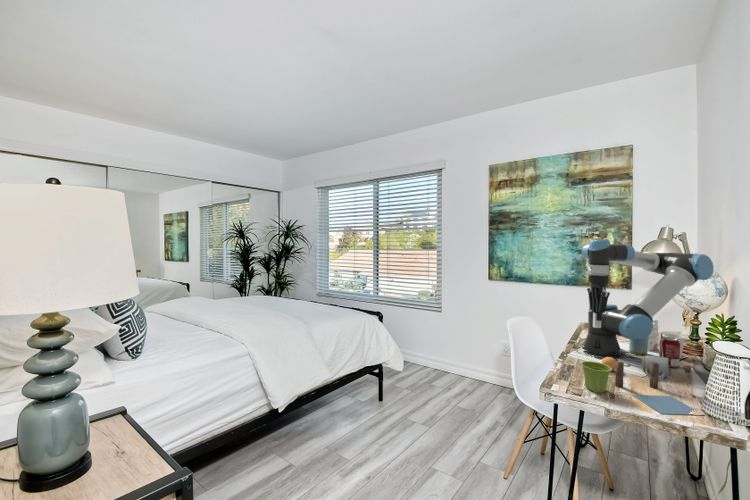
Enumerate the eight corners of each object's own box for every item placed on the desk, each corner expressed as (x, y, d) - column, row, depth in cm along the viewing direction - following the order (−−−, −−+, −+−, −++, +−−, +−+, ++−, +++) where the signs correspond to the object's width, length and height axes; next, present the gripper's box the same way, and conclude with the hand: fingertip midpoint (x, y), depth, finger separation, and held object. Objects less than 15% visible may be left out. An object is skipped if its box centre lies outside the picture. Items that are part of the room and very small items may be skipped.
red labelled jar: (683, 369, 146) (684, 341, 146) (664, 367, 147) (665, 340, 147) (672, 363, 152) (673, 336, 152) (655, 362, 154) (656, 335, 153)
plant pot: (603, 385, 129) (604, 362, 129) (616, 396, 120) (617, 371, 119) (576, 382, 131) (577, 360, 130) (586, 393, 121) (587, 369, 121)
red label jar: (682, 356, 163) (683, 335, 162) (686, 361, 155) (687, 339, 155) (660, 352, 167) (660, 332, 167) (663, 357, 160) (663, 336, 160)
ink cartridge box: (646, 346, 177) (647, 317, 177) (657, 348, 173) (658, 320, 173) (637, 348, 174) (638, 319, 173) (648, 351, 169) (649, 321, 169)
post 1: (620, 384, 129) (621, 361, 129) (624, 387, 127) (625, 363, 126) (613, 384, 129) (614, 361, 129) (617, 387, 127) (618, 363, 126)
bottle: (639, 350, 169) (640, 320, 169) (651, 355, 162) (652, 324, 162) (625, 350, 169) (626, 320, 169) (636, 355, 162) (637, 324, 162)
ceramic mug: (643, 369, 145) (643, 351, 145) (668, 374, 140) (669, 356, 139) (641, 377, 137) (642, 358, 137) (668, 383, 132) (669, 363, 131)
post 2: (654, 386, 128) (655, 362, 128) (659, 388, 126) (660, 364, 126) (647, 385, 128) (648, 362, 128) (652, 388, 126) (653, 364, 126)
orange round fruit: (612, 368, 146) (612, 355, 146) (620, 373, 141) (620, 359, 140) (598, 367, 146) (599, 354, 146) (606, 372, 141) (607, 359, 141)
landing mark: (670, 396, 120) (670, 396, 120) (704, 415, 107) (704, 415, 107) (632, 395, 120) (632, 394, 120) (660, 414, 107) (661, 413, 107)
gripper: (581, 272, 158) (580, 323, 159) (598, 275, 145) (596, 331, 146) (598, 273, 158) (596, 324, 159) (616, 276, 145) (615, 331, 146)
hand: (596, 327), depth 152 cm, fingers closed
